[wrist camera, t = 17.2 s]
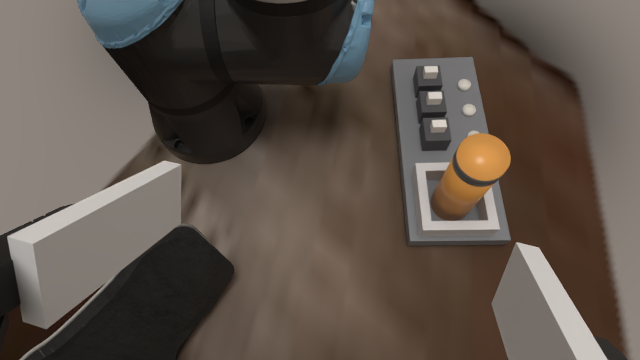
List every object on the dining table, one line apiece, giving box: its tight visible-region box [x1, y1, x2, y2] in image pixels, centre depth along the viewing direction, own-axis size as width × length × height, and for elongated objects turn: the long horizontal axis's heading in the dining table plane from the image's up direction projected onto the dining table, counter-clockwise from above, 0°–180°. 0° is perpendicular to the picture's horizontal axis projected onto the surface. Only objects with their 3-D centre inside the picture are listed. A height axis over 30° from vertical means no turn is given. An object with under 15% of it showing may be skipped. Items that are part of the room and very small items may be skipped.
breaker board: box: [391, 57, 511, 246], centre depth 47 cm, size 26×11×6 cm, turn 0°
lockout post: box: [430, 133, 511, 221], centre depth 38 cm, size 4×4×12 cm
